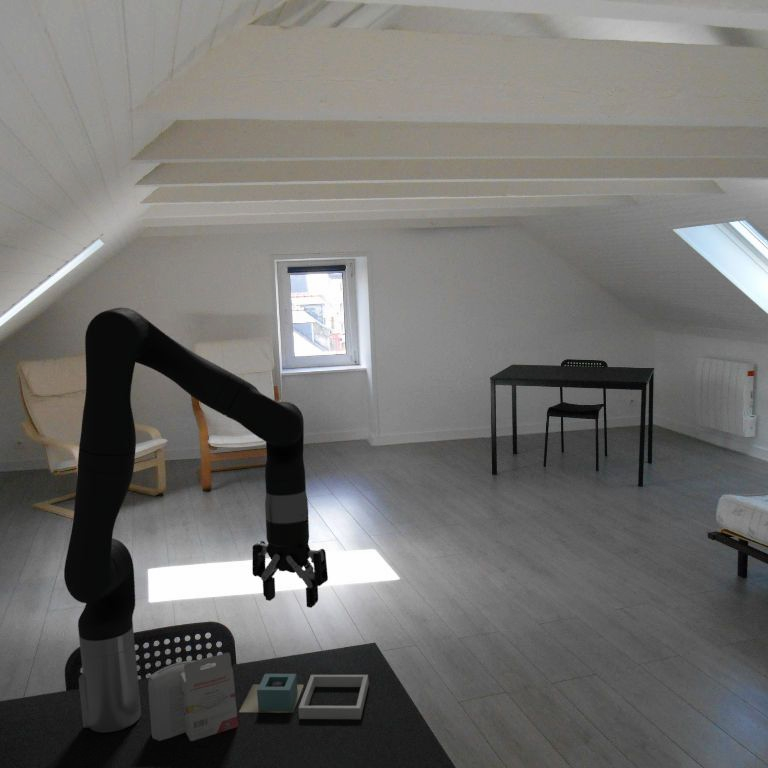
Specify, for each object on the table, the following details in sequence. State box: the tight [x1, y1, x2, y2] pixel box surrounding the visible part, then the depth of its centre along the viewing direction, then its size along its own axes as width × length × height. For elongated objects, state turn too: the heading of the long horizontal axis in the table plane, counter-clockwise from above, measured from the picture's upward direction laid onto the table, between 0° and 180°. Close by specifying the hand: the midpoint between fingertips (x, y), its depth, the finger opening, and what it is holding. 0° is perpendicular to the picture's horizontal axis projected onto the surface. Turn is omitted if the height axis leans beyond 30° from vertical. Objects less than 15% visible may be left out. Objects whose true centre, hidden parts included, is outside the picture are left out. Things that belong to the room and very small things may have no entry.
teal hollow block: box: [257, 673, 298, 711], centre depth 148 cm, size 6×8×4 cm
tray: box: [298, 674, 370, 720], centre depth 147 cm, size 11×12×3 cm
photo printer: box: [147, 660, 195, 742], centre depth 140 cm, size 10×4×12 cm, turn 123°
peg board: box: [238, 682, 305, 714], centre depth 149 cm, size 10×10×4 cm
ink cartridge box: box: [180, 652, 239, 742], centre depth 139 cm, size 9×5×15 cm, turn 117°
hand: (290, 602), depth 144 cm, fingers open, 8 cm apart
